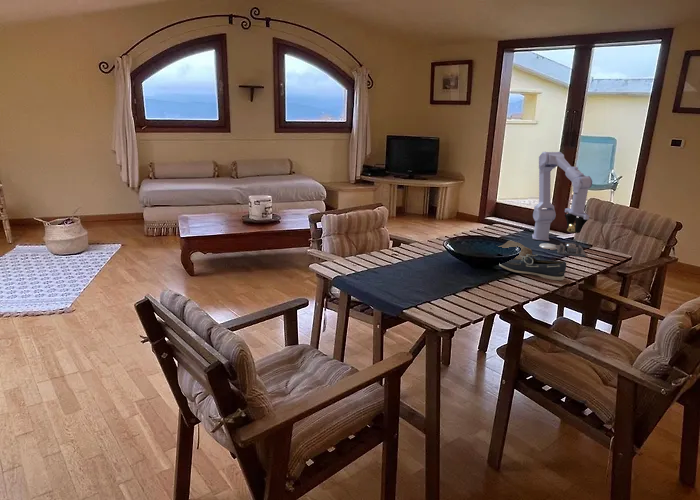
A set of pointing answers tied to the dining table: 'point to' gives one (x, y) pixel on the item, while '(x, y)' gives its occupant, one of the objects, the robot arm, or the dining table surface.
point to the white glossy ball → (548, 246)
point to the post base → (570, 250)
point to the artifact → (513, 244)
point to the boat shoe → (537, 267)
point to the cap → (571, 227)
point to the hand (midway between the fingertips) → (573, 230)
